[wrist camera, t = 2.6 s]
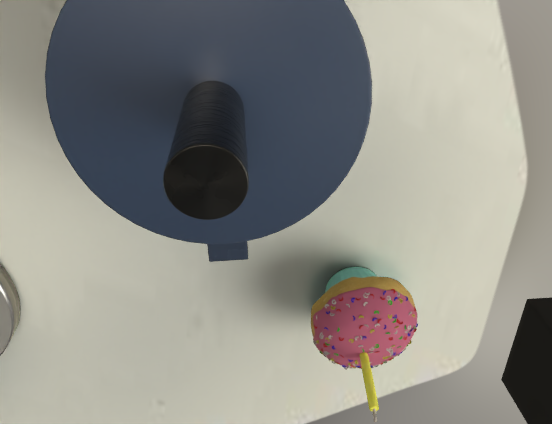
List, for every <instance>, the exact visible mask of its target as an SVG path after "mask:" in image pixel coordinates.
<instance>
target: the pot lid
mask: <svg viewBox="0 0 552 424" xmlns="http://www.w3.org/2000/svg"><path fill="white" fill-rule="evenodd" d="M45 83H46V98H47V103H48V108H49V113H50V118H51V121H52V124H53V127H54V130H55V133H56V136H57V139H58V141H59V143H60V145H61V147H62V149H63V151H64V153H65V155H66V157H67V159H68V160H69V162H70V164H71V165H72V167H73V168H74V170H75V171H76V173H77V174H78V176H79V177H80V178H81V179H82V180H83V181H84V183H85V184H86V185H87V186H88V187H89V189H90V190H91V191H92V192H93V193H94V194H95V195H96V196H98V197H99V198H100V199H101V200H102V201H103V202H104V203H105V204H106V205H108V206H109V207H110V208H112V209H113V210H114V211H116V212H117V213H118V214H120V215H121V216H123V217H125V218H126V219H128V220H130V221H131V222H133V223H135V224H136V225H138V226H141V227H143V228H145V229H147V230H150V231H152V232H154V233H157V234H160V235H163V236H166V237H169V238H173V239H178V240H182V241H187V242H194V243H204V244H228V243H237V242H244V241H249V240H253V239H257V238H262V237H264V236H267V235H270V234H273V233H276V232H279V231H281V230H283V229H285V228H287V227H289V226H291V225H293V224H295V223H296V222H298V221H300V220H301V219H303V218H304V217H306V216H307V215H309V214H310V213H312V212H313V211H314V210H315V209H316V208H318V207H319V206H320V205H321V204H323V203H324V202H325V201H326V200H327V199H328V198H329V196H330V195H331V194H332V193H333V192H334V191H335V190H336V189H337V188H338V186H339V185H340V184H341V182H342V181H343V180H344V178H345V177H346V176H347V174H348V173H349V171H350V169H351V167H352V166H353V164H354V162H355V160H356V159H357V156H358V154H359V151H360V149H361V147H362V144H363V142H364V139H365V135H366V131H367V128H368V124H369V119H370V112H371V105H372V79H371V71H370V63H369V58H368V55H367V51H366V47H365V43H364V40H363V37H362V35H361V33H360V30H359V28H358V25H357V23H356V20H355V19H354V17H353V15H352V13H351V12H350V10H349V8H348V7H347V5H346V3H345V1H344V0H67V1H66V2H65V4H64V6H63V7H62V9H61V11H60V13H59V16H58V18H57V21H56V23H55V26H54V28H53V31H52V34H51V39H50V43H49V47H48V51H47V59H46V71H45Z"/></svg>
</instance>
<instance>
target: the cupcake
mask: <svg viewBox="0 0 552 424" xmlns="http://www.w3.org/2000/svg"><path fill="white" fill-rule="evenodd" d="M416 324H417V312H416V308H415V305H414V302H413V299H412V296H411V294H410V293H409V292H408V291H407V290H406V289H405V287H404V286H403V285H402V284H401V283H400V282H398V281H397V280H394V279H391V278H388V277H378V276H377V275H376V274H375V273H373V272H372V271H371V270H369V269H366V268H363V267H350V268H346V269H343V270H341V271H339V272H337V273H336V274H335V275H333V276H332V277H331V279H330V280H329V281H328V283H327V286H326V290H325V294H323V295H322V296H321V297H320V298H319V299H318V300H317V301H316V302H315V303H314V305H313V306H312V309H311V329H312V334H313V337H314V338H313V340H314V344H315V345H316V347H317V348H318V350H319V351H320V353H321V354H323V355H324V356H325V357H327V358H328V359H329V361H330V360H332V363H336V364H340V365H342V367H344V368H345V367H347V368H348V367H350V368H356V367H357V368H361V369H362V372H363V377H364V383H365V388H366V393H367V399H368V404H369V409H370V411H373V416H374V422H376V421H377V416H376V411H377V410H378V409H379V406H378V401H377V396H376V392H375V387H374V382H373V377H372V372H371V368H373V366H374V367H377V366H378V365H379V364H381V365H382V364H383V363H387V361H389V360H391V359H394V357H396V356H399V354H400V353H402V352H403V351H404V350H405V349H406V348H405V347H407V346H408V344H410V343H411V338H412V336H413V334H414V332H415V331H416V330H417V329H416V327H417V326H418V324H417V326H416ZM409 342H410V343H409ZM347 368H345V369H347Z"/></svg>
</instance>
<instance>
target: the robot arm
mask: <svg viewBox="0 0 552 424" xmlns="http://www.w3.org/2000/svg"><path fill="white" fill-rule="evenodd" d="M19 319H20V300H19V296H18V293H17V290H16V287H15V285H14V283H13V281H12V279H11V278H10V276H9V275H8V273H7V272H6V270H5V269H4V268H3V266H2V265H1V264H0V355H1V354H2V353H3V352H4V350H5V349H6V347H7V345H8V344H9V342H10V340H11V338H12V336H13V334H14V332H15V330H16V328H17V326H18V323H19ZM502 381H503V383H504V385H505V386H506V388H507V390H508V392H509V393H510V395H511V397H512V398H513V400H514V402H515V403H516V405H517V407H518V408H519V410H520V412H521V413H522V415H523V417H524V418H525V420H526V422H527V423H528V424H552V298H539V299H538V298H537V299H527V301H526V304H525V308H524V311H523V314H522V317H521V320H520V323H519V326H518V329H517V333H516V336H515V339H514V342H513V345H512V348H511V351H510V354H509V358H508V361H507V364H506V367H505V371H504V373H503V377H502Z"/></svg>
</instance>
